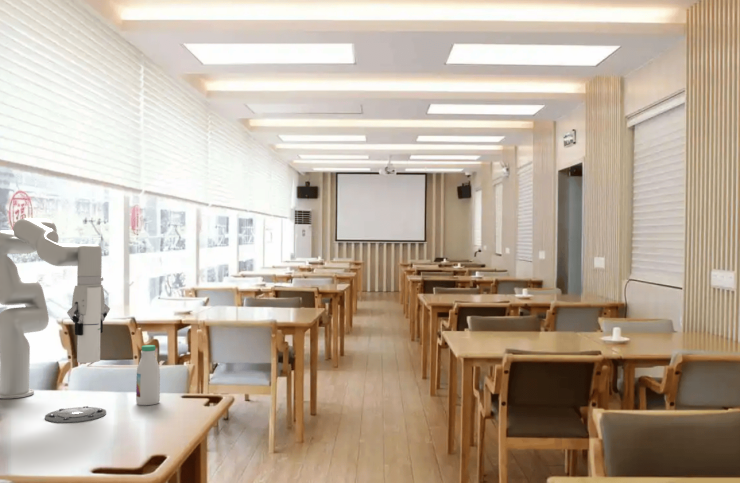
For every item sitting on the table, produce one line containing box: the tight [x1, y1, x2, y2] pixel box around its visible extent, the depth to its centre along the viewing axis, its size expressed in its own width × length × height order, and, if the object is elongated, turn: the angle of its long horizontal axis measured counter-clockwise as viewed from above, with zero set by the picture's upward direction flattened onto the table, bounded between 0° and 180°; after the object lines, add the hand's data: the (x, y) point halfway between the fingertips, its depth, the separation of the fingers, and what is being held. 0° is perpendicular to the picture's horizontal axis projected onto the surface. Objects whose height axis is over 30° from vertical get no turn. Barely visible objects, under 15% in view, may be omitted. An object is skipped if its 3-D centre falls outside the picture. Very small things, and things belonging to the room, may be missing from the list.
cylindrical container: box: [76, 287, 101, 364], centre depth 228 cm, size 7×7×25 cm
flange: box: [44, 405, 107, 424], centre depth 217 cm, size 18×18×1 cm
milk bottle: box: [135, 344, 161, 406], centre depth 235 cm, size 8×8×20 cm
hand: (88, 333), depth 228 cm, fingers closed on cylindrical container, 7 cm apart
